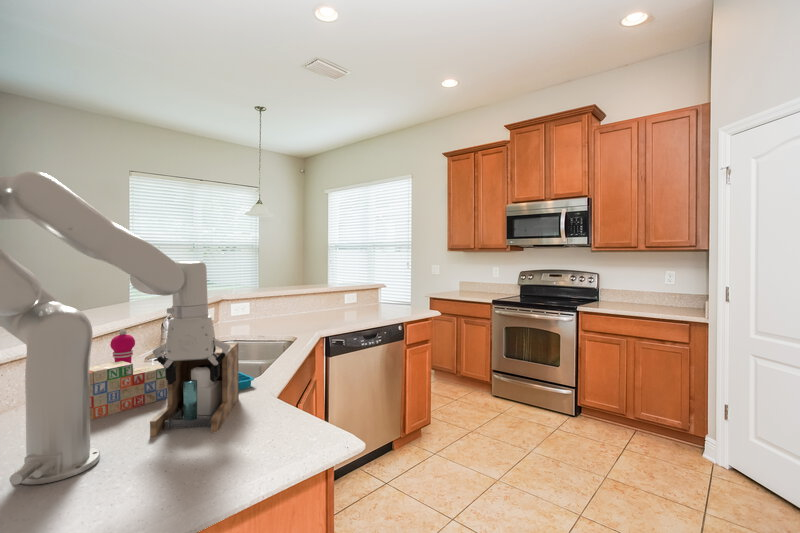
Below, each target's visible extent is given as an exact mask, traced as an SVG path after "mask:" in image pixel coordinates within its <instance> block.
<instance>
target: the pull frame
mask: <svg viewBox="0 0 800 533" xmlns="http://www.w3.org/2000/svg"><path fill="white" fill-rule="evenodd" d="M221 404H222V402H221V403H220V404H219V405H218V407H217V408H216V409H215V411H214V412H213V413H212V414H211V415H204V416H198V415H197V380H187V381H184V382H183V404H182V405H181V406H180V407H179V408H178V409H177V410H176V411H175V412H174V413H173V414H172V415H171V416H170V417H169V418H168V419H167V420H166V421H165V427H164V430H165V431H166V430H167V431H168V430H170V429H171V430H172V429H185V428H187V429H188V428H203V427H204V428H205V427H208V428H211V418H212V416H213V415H214V414H215V412H216V411H217V410H218V408H219V407H220V405H221ZM182 416H183V417H182Z"/></svg>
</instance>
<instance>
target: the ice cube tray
mask: <svg viewBox="0 0 800 533" xmlns="http://www.w3.org/2000/svg"><path fill="white" fill-rule="evenodd" d="M238 374H239V391H241V389H242V390H245V388H246V389H249V388H248V387H250V388H251V387H252V386H251V385H252V381H254V380H255V378H254V377H253V376H251V375H249V374H245V373H243V372H241V371H240V370H238Z"/></svg>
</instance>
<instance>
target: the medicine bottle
mask: <svg viewBox="0 0 800 533" xmlns="http://www.w3.org/2000/svg"><path fill="white" fill-rule="evenodd" d="M191 380H197V416H211V415H212V413H213V412H214V411H215V409H216V408H217V407H218V405H219V404H220V403H221V402H222V381H215V382H212V381H211V365H199V366H196V367H194V368H192V369H191Z"/></svg>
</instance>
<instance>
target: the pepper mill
mask: <svg viewBox="0 0 800 533" xmlns="http://www.w3.org/2000/svg"><path fill="white" fill-rule="evenodd" d="M109 345H110V348H111V350H113V352H112V358H113V359H114V362H119V361H124V362H128V363H132V358H133V357H132V356H133V355H134V350H133V349H134V348H135V345H136V340H135V337H133V336H132V335H130V334H127V330H126V329H124V328H122V329H120V330H119V331H118V335H116V336H114V337H112V339H111V340H110V344H109Z"/></svg>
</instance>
